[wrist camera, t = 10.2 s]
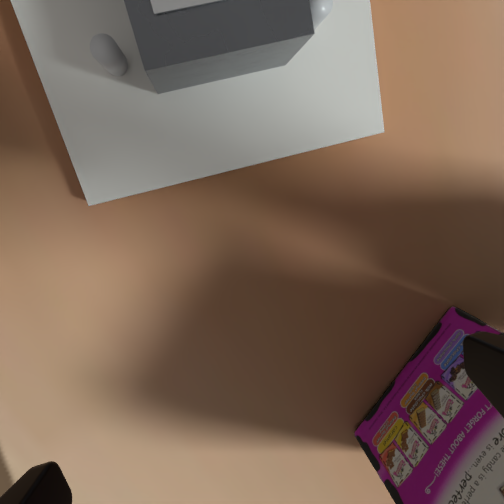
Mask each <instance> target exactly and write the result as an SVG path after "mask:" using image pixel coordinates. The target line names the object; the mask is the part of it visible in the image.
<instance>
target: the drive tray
mask: <svg viewBox="0 0 504 504" xmlns="http://www.w3.org/2000/svg"><path fill="white" fill-rule="evenodd" d="M309 1H310V8H311V14H312V20H313V27H314V33H315V34H314V35H313V36H312V37H311V38H310V39H309V40H308V41H307V42H306V44H305V45H304V46H303V47H302V48H301V49H300V50H299V51H298V52H297V53H296V54H295V56H294V57H293V58H292V59H291V60H290V61H289V62H288V63H287V64H286V65H284V66H280V67H276V68H271V69H267V70H262V71H258V72H253V73H249V74H245V75H240V76H236V77H231V78H227V79H223V80H218V81H214V82H209V83H205V84H200V85H196V86H192V87H187V88H183V89H178V90H174V91H170V92H165V93H161V94H158V93H157V92H156V90H155V88H154V86H153V85H152V83H151V81H150V79H149V77H148V76H147V74H146V72H145V70H144V66H143V63H142V60H141V56H140V53H139V50H138V46H137V43H136V39H135V36H134V33H133V29H132V26H131V23H130V19H129V16H128V12H127V9H126V6H125V2H124V0H11V3H12V6H13V8H14V11H15V14H16V16H17V19H18V21H19V24H20V27H21V29H22V32H23V35H24V37H25V40H26V42H27V45H28V48H29V50H30V53H31V56H32V58H33V61H34V64H35V66H36V69H37V71H38V74H39V77H40V79H41V82H42V85H43V87H44V90H45V92H46V95H47V98H48V100H49V103H50V106H51V108H52V111H53V114H54V116H55V119H56V121H57V124H58V127H59V129H60V132H61V135H62V137H63V140H64V143H65V145H66V148H67V150H68V153H69V156H70V158H71V161H72V164H73V166H74V169H75V171H76V174H77V177H78V179H79V182H80V185H81V187H82V190H83V193H84V195H85V198H86V200H87V203H88V206H91V205H95V204H99V203H103V202H107V201H111V200H115V199H119V198H123V197H127V196H131V195H135V194H139V193H143V192H147V191H151V190H155V189H159V188H163V187H167V186H171V185H175V184H179V183H183V182H187V181H191V180H195V179H199V178H203V177H207V176H211V175H215V174H219V173H223V172H227V171H231V170H235V169H239V168H243V167H247V166H251V165H255V164H259V163H263V162H267V161H271V160H275V159H279V158H283V157H287V156H291V155H295V154H299V153H303V152H307V151H311V150H315V149H319V148H323V147H327V146H331V145H335V144H339V143H343V142H347V141H351V140H355V139H359V138H363V137H367V136H371V135H375V134H379V133H383V132H384V124H383V115H382V106H381V97H380V88H379V79H378V70H377V61H376V52H375V43H374V34H373V25H372V16H371V7H370V0H309Z"/></svg>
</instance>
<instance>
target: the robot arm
mask: <svg viewBox="0 0 504 504" xmlns="http://www.w3.org/2000/svg"><path fill="white" fill-rule="evenodd" d="M463 356H464V368H465V372H466V374H467V375H468V377H469V378H470V380H471V381H472V382H473V383H474V384H475V385H476V387H477V388H478V389H479V390H480V391H481V392H482V394H483V395H484V396H485V397H486V398H487V399H488V401H489V402H490V403H491V404H492V405H493V406H494V408H495V409H496V410H497V411H498V412H499V413H500V415H501V416H502V417H503V418H504V336H503V335H498V334H494V333H489V332H484V331H481V332H477V333H473V334H470V335H467V336H466V337H465V338H464V340H463ZM0 504H72V493H71V489H70V487H69V485H68V483H67V481H66V479H65V477H64V475H63V473H62V471H61V469H60V467H59V466H58V464H57V463H56V462H52V461H51V462H47V463H44V464H40V465H37V466H34V467H32V468H31V469H29V470H28V471H27V472H26V473H25V474H24V475H23V476H22V477H21V478H20V479H19V480H18V481H17V482H16V483H15V484H14V485H13V486H12V487H11V488H9V489H8V490H7V491H6V492H5V494H3V495H2V496H1V497H0Z"/></svg>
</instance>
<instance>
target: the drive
mask: <svg viewBox="0 0 504 504" xmlns="http://www.w3.org/2000/svg"><path fill="white" fill-rule="evenodd" d="M124 2H125V6H126V9H127V12H128V16H129V19H130V23H131V26H132V29H133V33H134V36H135V39H136V43H137V46H138V50H139V53H140V56H141V60H142V63H143V66H144V70H145V72H146V74H147V76H148V77H149V79H150V81H151V83H152V85H153V86H154V88H155V90H156V92H157V93H158V94H161V93H165V92H170V91H174V90H178V89H183V88H187V87H192V86H196V85H200V84H205V83H209V82H214V81H218V80H223V79H227V78H231V77H236V76H240V75H245V74H249V73H253V72H258V71H262V70H267V69H271V68H276V67H280V66H284V65H286V64H287V63H288V62H289V61H290V60H291V59H292V58H293V57H294V56H295V54H296V53H297V52H298V51H299V50H300V49H301V48H302V47H303V46H304V45H305V44H306V42H307V41H308V40H309V39H310V38H311V37H312V36H313V35H314V34H315V33H314V27H313V20H312V14H311V8H310V1H309V0H124Z"/></svg>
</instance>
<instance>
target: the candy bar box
mask: <svg viewBox="0 0 504 504" xmlns="http://www.w3.org/2000/svg"><path fill="white" fill-rule="evenodd" d="M481 331H484V332H489V333H494V334H498V335H503V336H504V333H502V332H500V331H499V330H497V329H495V328H493V327H491V326H489V325H488V324H486V323H484V322H483V321H481V320H479V319H478V318H476V317H474V316H472V315H470V314H468V313H467V312H465V311H463V310H461V309H459V308H456V307H451V308H450V309H449V310H448V311H447V312H446V313H445V315H444V316H443V317H442V318H441V320H440V321H439V322H438V324H437V325H436V326H435V327H434V329H433V330H432V331H431V333H430V334H429V335H428V337H427V338H426V339H425V341H424V342H423V343H422V345H421V346H420V347H419V348H418V350H417V351H416V352H415V354H414V355H413V356H412V358H411V359H410V360H409V362H408V363H407V364H406V366H405V367H404V368H403V369H402V371H401V372H400V373H399V375H398V376H397V377H396V379H395V380H394V381H393V383H392V384H391V385H390V387H389V388H388V389H387V390H386V392H385V393H384V395H383V396H382V397H381V399H380V400H379V401H378V403H377V404H376V405H375V406H374V408H373V409H372V410H371V412H370V413H369V414H368V416H367V417H366V418H365V420H364V421H363V422H362V423H361V425H360V426H359V427H358V429H357V430H356V431H355V432H354V435H355V437H356V438H357V440H358V442H359V443H360V445H361V447H362V449H363V450H364V452H365V454H366V455H367V457H368V459H369V460H370V462H371V464H372V465H373V467H374V468H375V470H376V471H377V473H378V475H379V477H380V479H381V480H382V482H383V483H384V485H385V486H386V488H387V490H388V492H389V493H390V495H391V497H392V498H393V500H394V502H395V503H396V504H504V418H503V417H502V416H501V415H500V413H499V412H498V411H497V410H496V409H495V408H494V406H493V405H492V404H491V403H490V402H489V401H488V399H487V398H486V397H485V396H484V395H483V394H482V392H481V391H480V390H479V389H478V388H477V387H476V385H475V384H474V383H473V382H472V381H471V380H470V378H469V377H468V375H467V374H466V372H465V368H464V356H463V340H464V338H465V337H466V336H467V335H470V334H473V333H477V332H481Z"/></svg>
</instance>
